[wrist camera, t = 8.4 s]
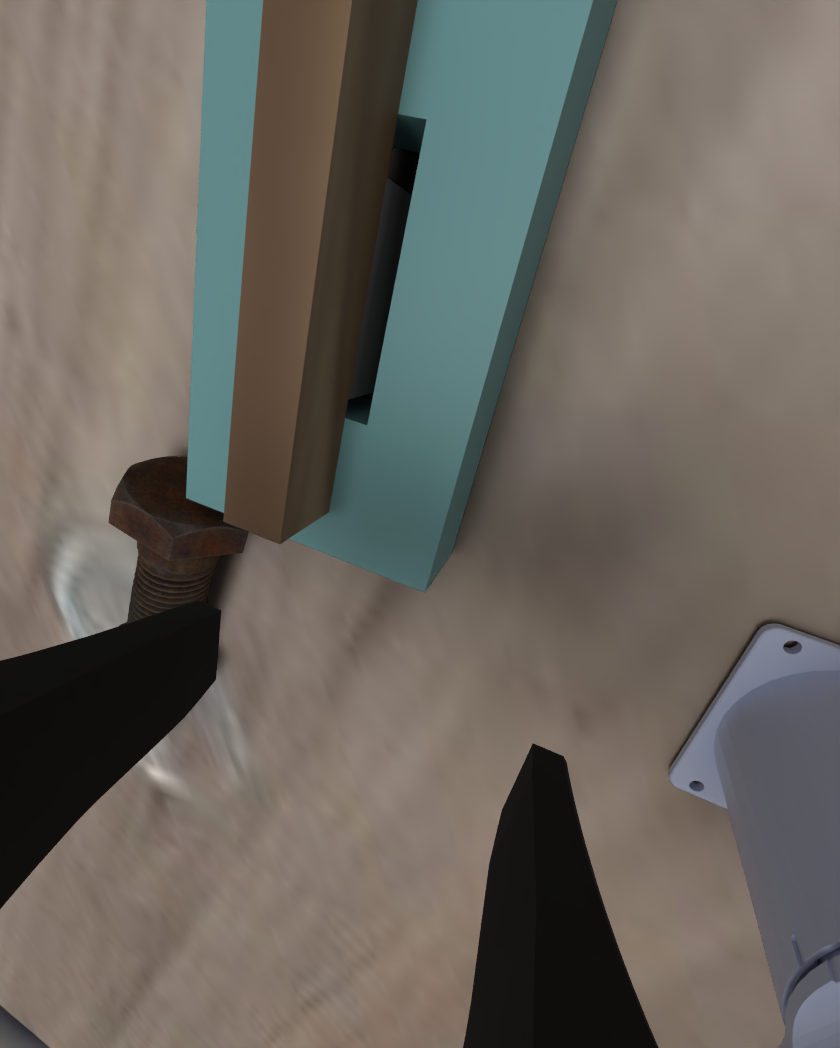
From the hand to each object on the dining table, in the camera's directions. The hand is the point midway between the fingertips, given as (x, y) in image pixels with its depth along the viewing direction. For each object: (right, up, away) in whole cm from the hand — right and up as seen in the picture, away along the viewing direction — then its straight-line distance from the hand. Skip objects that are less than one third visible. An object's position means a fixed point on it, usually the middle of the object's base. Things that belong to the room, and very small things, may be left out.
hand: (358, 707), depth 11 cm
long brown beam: (0, +12, +7) cm, 14 cm away
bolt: (-10, 0, +16) cm, 19 cm away
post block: (0, +12, +7) cm, 14 cm away
